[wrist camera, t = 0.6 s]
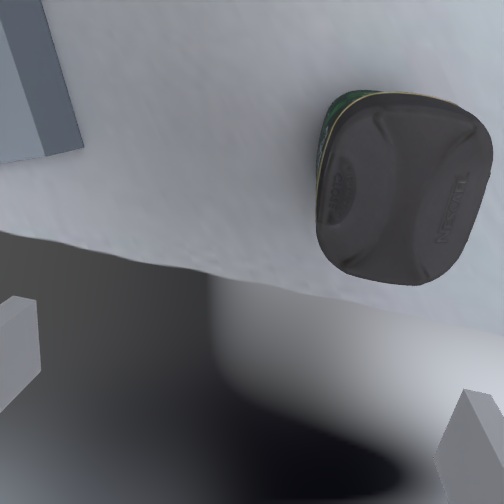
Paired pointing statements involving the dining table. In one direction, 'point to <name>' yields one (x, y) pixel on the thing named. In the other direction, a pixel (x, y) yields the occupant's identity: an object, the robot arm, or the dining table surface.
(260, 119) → the dining table surface
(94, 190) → the dining table surface
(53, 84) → the blue-grey square block
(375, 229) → the coffee jar
